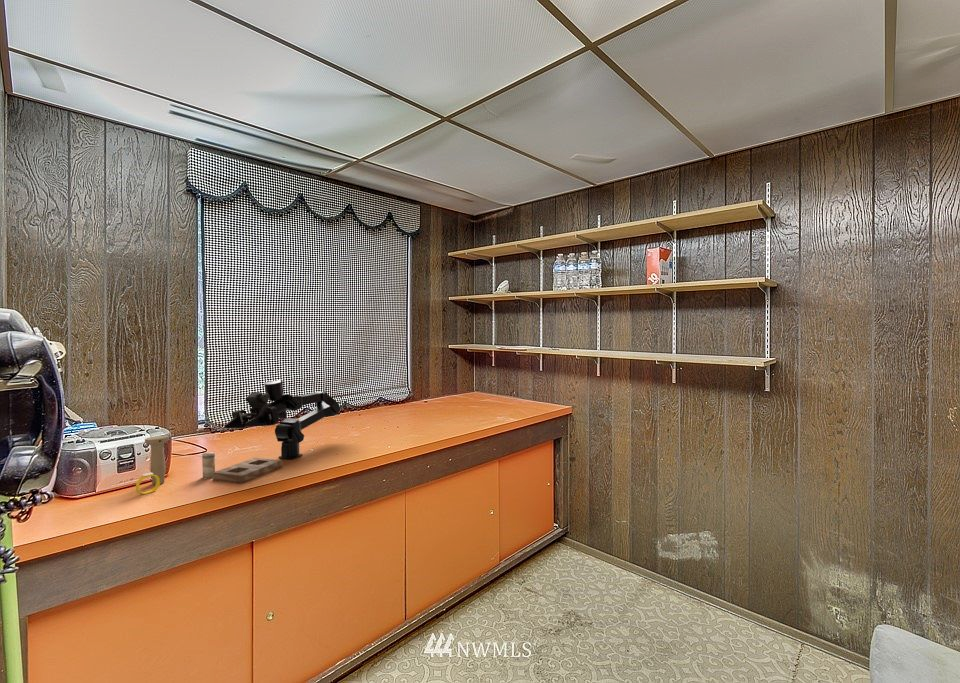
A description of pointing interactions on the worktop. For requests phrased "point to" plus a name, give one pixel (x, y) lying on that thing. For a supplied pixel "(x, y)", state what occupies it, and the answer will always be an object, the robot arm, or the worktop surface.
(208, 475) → the pin
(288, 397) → the robot arm
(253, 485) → the worktop surface
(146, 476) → the yellow round part
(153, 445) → the handle
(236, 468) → the bore block
